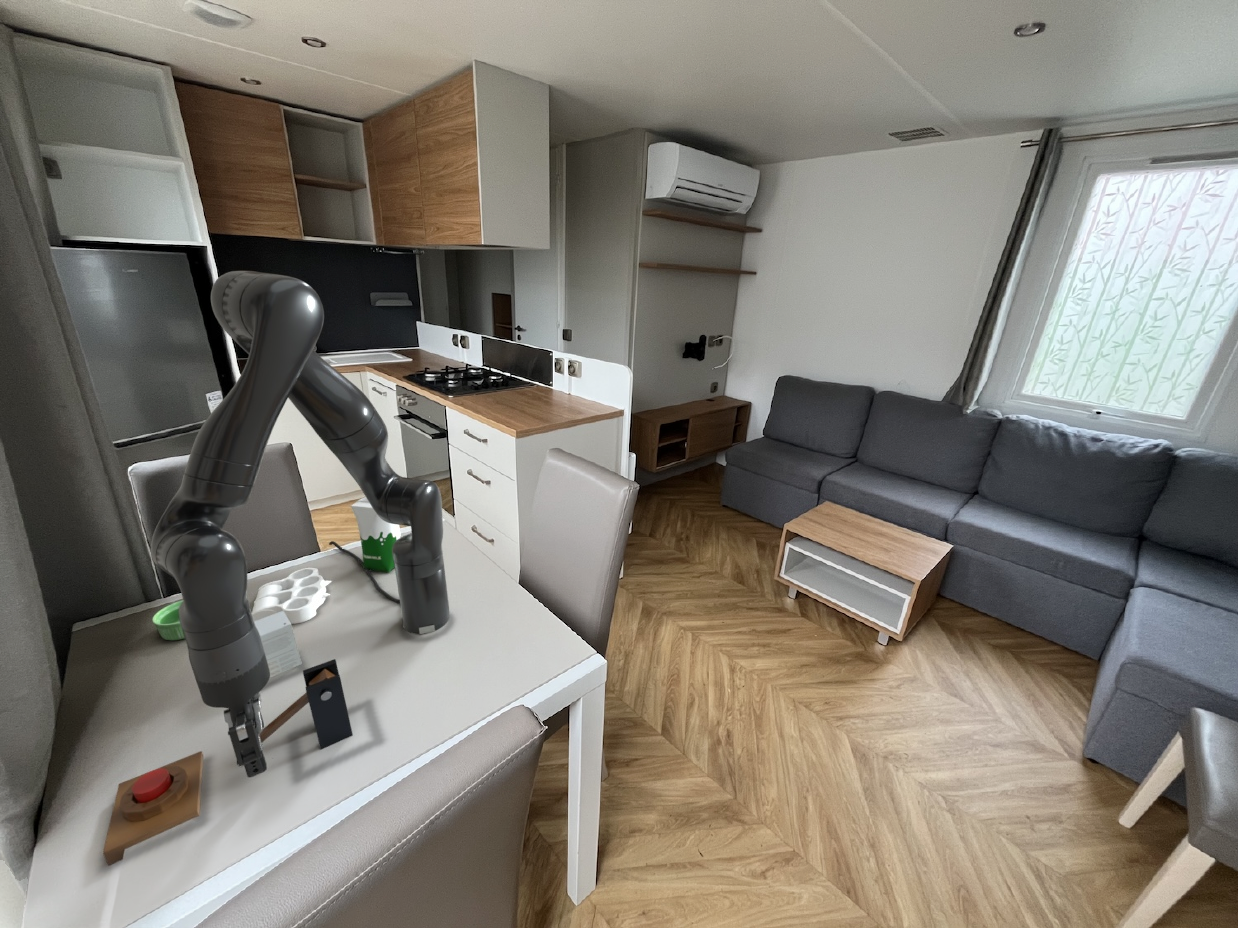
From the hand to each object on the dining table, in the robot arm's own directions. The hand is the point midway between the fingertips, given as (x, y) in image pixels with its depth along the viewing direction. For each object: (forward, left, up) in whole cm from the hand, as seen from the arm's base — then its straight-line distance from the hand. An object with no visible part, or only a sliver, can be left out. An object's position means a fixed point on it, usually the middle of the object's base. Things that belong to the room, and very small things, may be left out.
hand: (256, 750), depth 71 cm
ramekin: (-47, -11, -4) cm, 49 cm away
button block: (-1, -11, -4) cm, 12 cm away
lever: (0, +6, +3) cm, 7 cm away
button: (-1, -11, 0) cm, 12 cm away
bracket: (0, +10, -4) cm, 10 cm away
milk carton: (-51, +28, -4) cm, 58 cm away
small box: (-22, +3, -4) cm, 23 cm away
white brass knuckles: (-45, +8, -4) cm, 46 cm away
